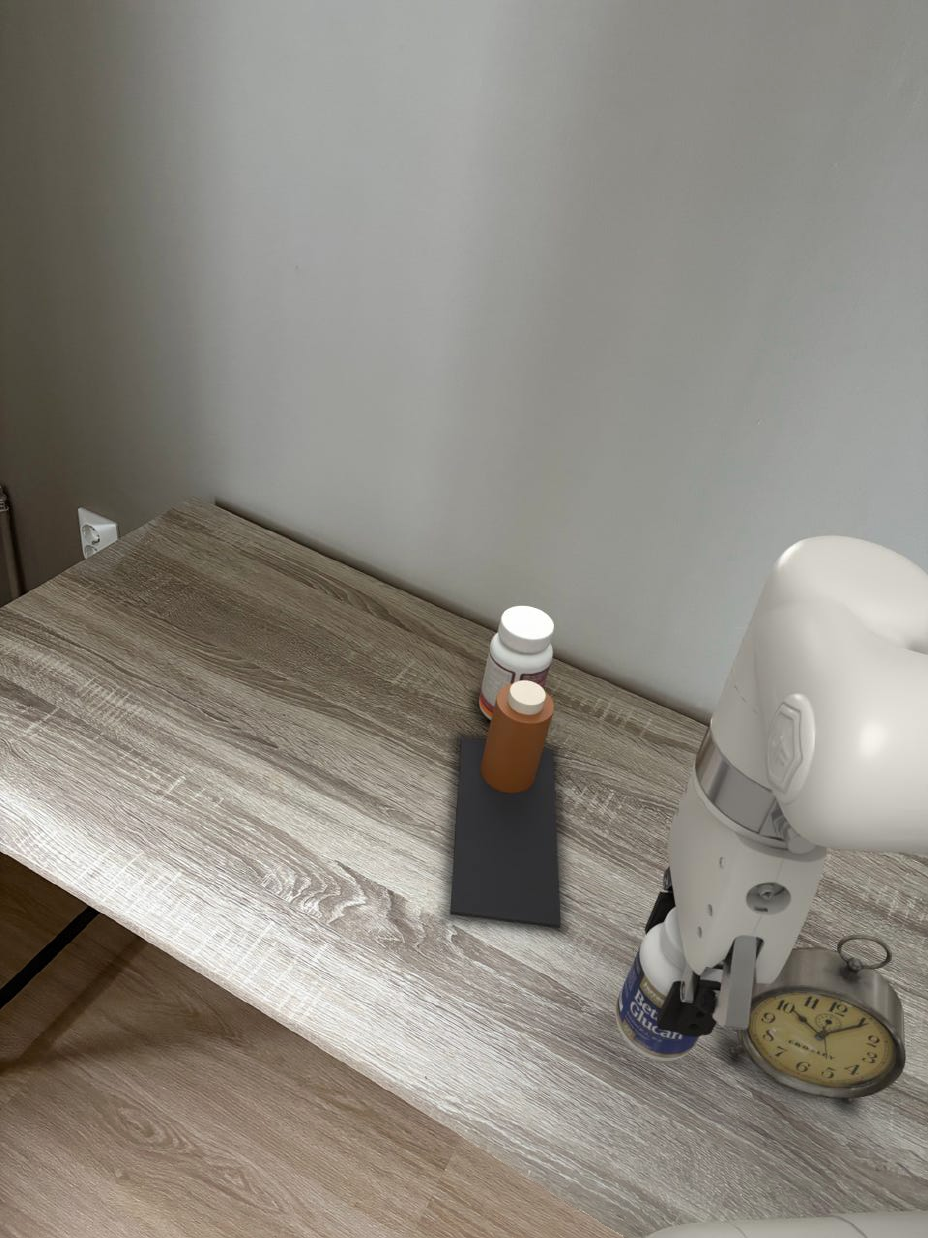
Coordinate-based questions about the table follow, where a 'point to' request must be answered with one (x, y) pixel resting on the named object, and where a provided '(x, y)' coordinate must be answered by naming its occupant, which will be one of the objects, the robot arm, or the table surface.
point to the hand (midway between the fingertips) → (675, 979)
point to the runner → (505, 845)
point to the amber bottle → (516, 736)
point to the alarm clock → (827, 1025)
